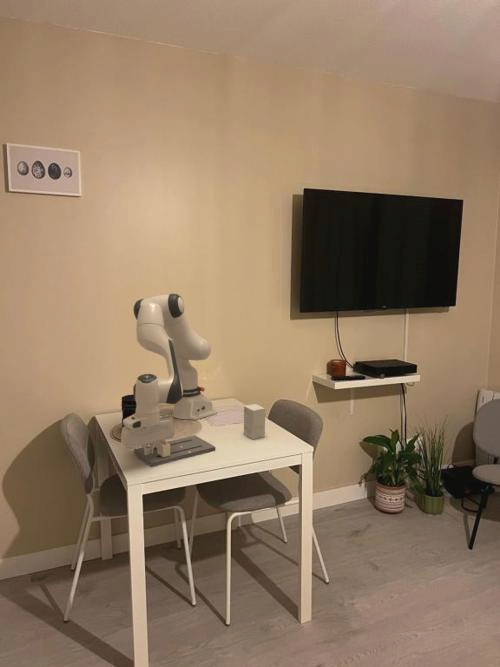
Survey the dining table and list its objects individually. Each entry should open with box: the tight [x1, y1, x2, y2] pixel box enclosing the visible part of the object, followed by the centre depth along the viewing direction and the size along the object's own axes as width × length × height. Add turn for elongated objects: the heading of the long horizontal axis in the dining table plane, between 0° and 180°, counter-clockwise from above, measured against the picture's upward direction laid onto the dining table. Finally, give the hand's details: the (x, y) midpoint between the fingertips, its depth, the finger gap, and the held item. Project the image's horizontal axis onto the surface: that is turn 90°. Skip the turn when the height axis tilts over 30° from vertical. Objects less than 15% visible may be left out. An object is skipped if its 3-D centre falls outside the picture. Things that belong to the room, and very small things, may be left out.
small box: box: [243, 403, 266, 440], centre depth 217 cm, size 8×6×13 cm
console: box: [133, 435, 216, 468], centre depth 199 cm, size 28×16×2 cm, turn 127°
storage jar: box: [121, 394, 137, 429], centre depth 223 cm, size 10×10×15 cm
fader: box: [157, 440, 170, 457], centre depth 191 cm, size 3×5×5 cm, turn 37°
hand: (148, 453), depth 188 cm, fingers closed
